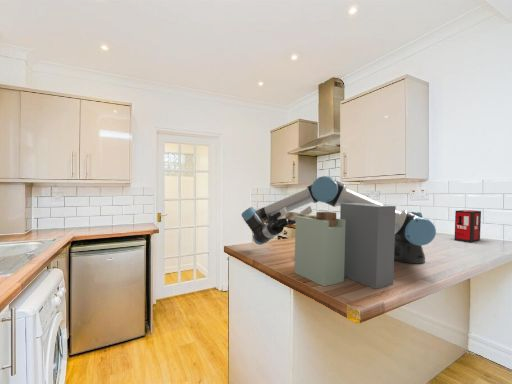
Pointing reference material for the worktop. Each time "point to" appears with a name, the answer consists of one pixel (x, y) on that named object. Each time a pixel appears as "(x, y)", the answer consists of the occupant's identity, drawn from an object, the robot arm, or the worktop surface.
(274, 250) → the worktop surface
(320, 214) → the mallet
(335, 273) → the sage green tall box
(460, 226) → the cleaning product box
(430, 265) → the worktop surface
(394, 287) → the worktop surface
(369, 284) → the tall grey upright slab
